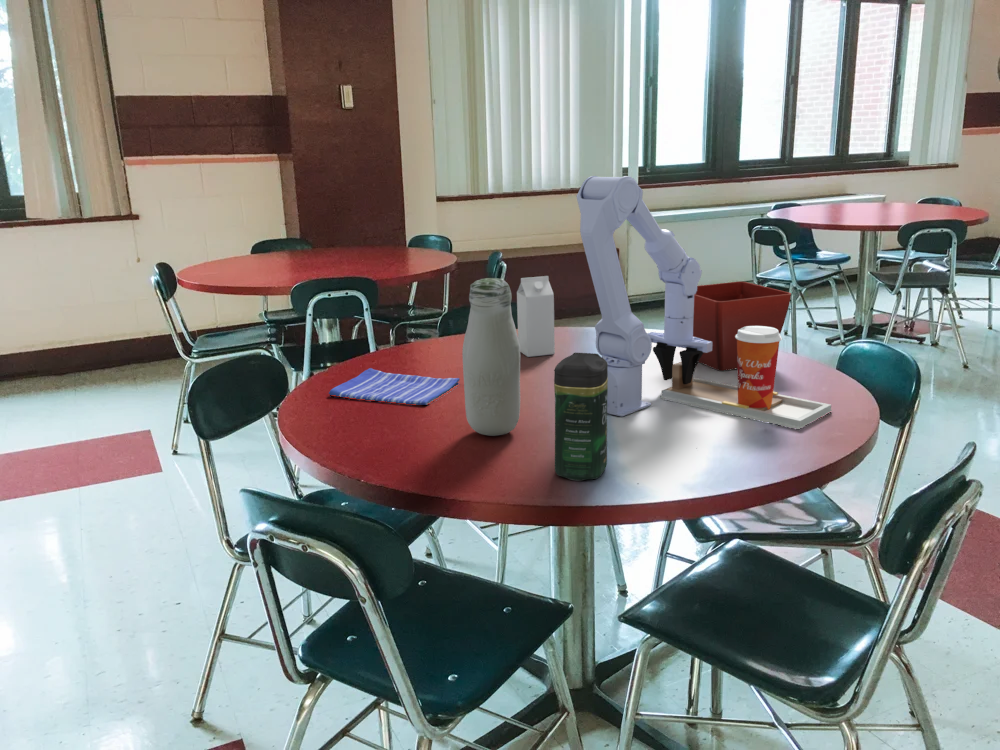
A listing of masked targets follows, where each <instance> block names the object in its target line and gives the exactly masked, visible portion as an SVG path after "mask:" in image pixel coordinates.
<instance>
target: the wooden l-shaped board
mask: <svg viewBox="0 0 1000 750" xmlns="http://www.w3.org/2000/svg"><path fill="white" fill-rule="evenodd" d="M693 377H694V376H693ZM693 377H692V381H691V383H688V384H683V381H682V361H680V362H676V363H673V366H672V379H671V387H668V388H665V389H664V390H670V391H674V392H679V393H683V394H688V395H693V396H697V397H702V398H706V399H711V400H716V401H720V402H723V401H727V402H732V403H736V404H739V403H738V390H733V389H729V388H724V387H719V386H714V385H709V384H704V383H699V382H694V381H693V379H694V378H693ZM781 403H783V399H778V398H772V404H771V407H770V408H772V407H774V406H776V405H778V404H781ZM749 408H751V407H749ZM752 409H757V410H761V411H766V410H768V409H767V407H764V408H752Z"/></svg>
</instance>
